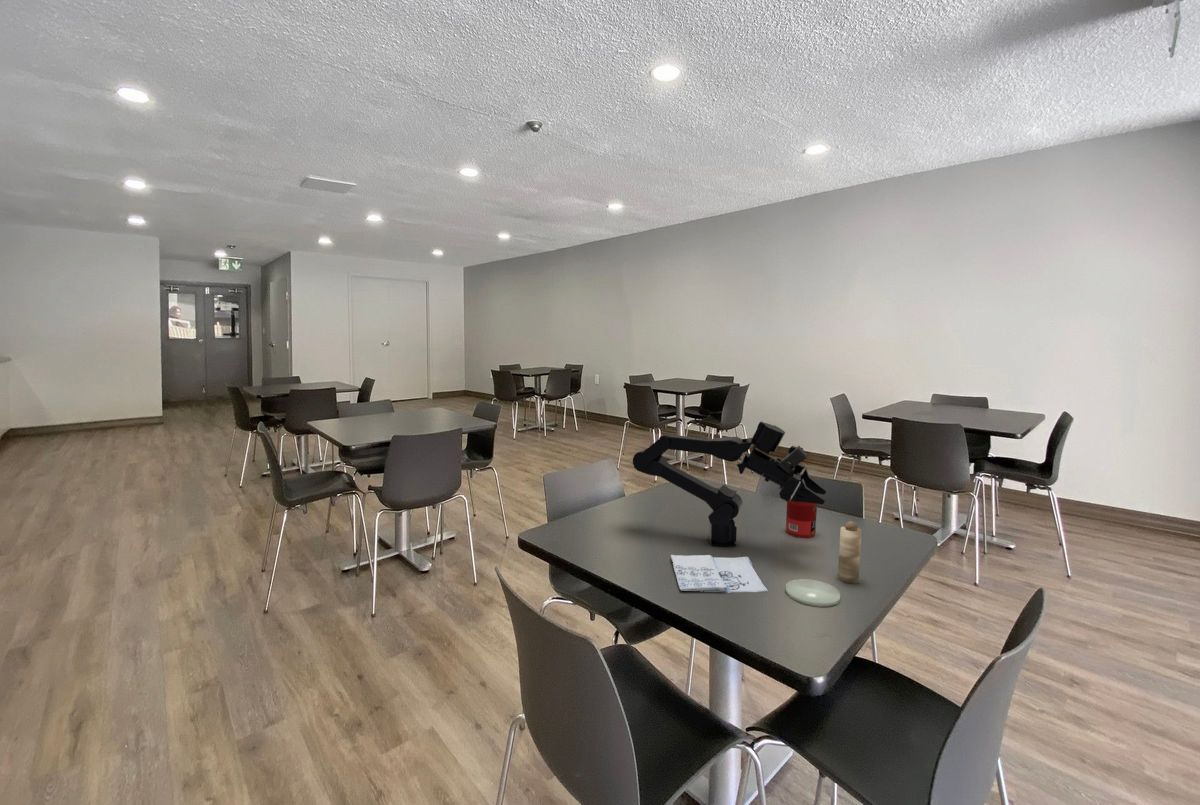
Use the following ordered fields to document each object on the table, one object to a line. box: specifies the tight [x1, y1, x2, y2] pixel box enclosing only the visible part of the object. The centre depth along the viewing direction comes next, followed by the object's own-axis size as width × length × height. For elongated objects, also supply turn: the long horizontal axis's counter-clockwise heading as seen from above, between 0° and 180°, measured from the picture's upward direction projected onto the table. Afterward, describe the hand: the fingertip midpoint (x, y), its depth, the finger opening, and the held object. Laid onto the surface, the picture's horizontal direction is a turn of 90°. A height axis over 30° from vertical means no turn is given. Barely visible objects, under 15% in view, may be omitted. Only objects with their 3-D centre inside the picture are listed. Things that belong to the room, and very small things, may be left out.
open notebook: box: [670, 554, 769, 594], centre depth 127 cm, size 19×20×2 cm
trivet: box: [785, 578, 841, 608], centre depth 117 cm, size 11×11×1 cm
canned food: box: [785, 496, 818, 539], centre depth 154 cm, size 8×8×11 cm
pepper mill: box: [837, 520, 863, 584], centre depth 124 cm, size 4×4×14 cm
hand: (824, 497), depth 135 cm, fingers open, 9 cm apart
